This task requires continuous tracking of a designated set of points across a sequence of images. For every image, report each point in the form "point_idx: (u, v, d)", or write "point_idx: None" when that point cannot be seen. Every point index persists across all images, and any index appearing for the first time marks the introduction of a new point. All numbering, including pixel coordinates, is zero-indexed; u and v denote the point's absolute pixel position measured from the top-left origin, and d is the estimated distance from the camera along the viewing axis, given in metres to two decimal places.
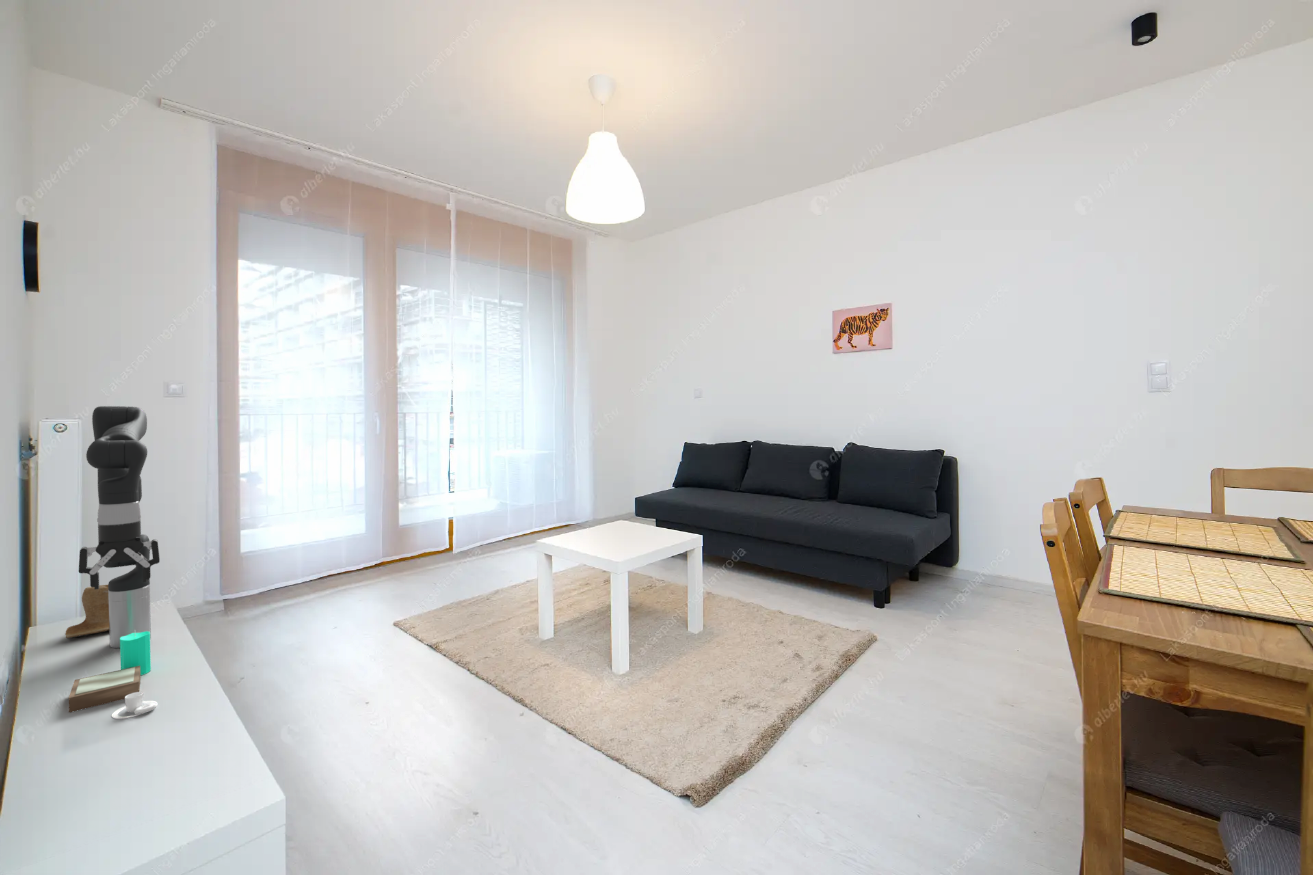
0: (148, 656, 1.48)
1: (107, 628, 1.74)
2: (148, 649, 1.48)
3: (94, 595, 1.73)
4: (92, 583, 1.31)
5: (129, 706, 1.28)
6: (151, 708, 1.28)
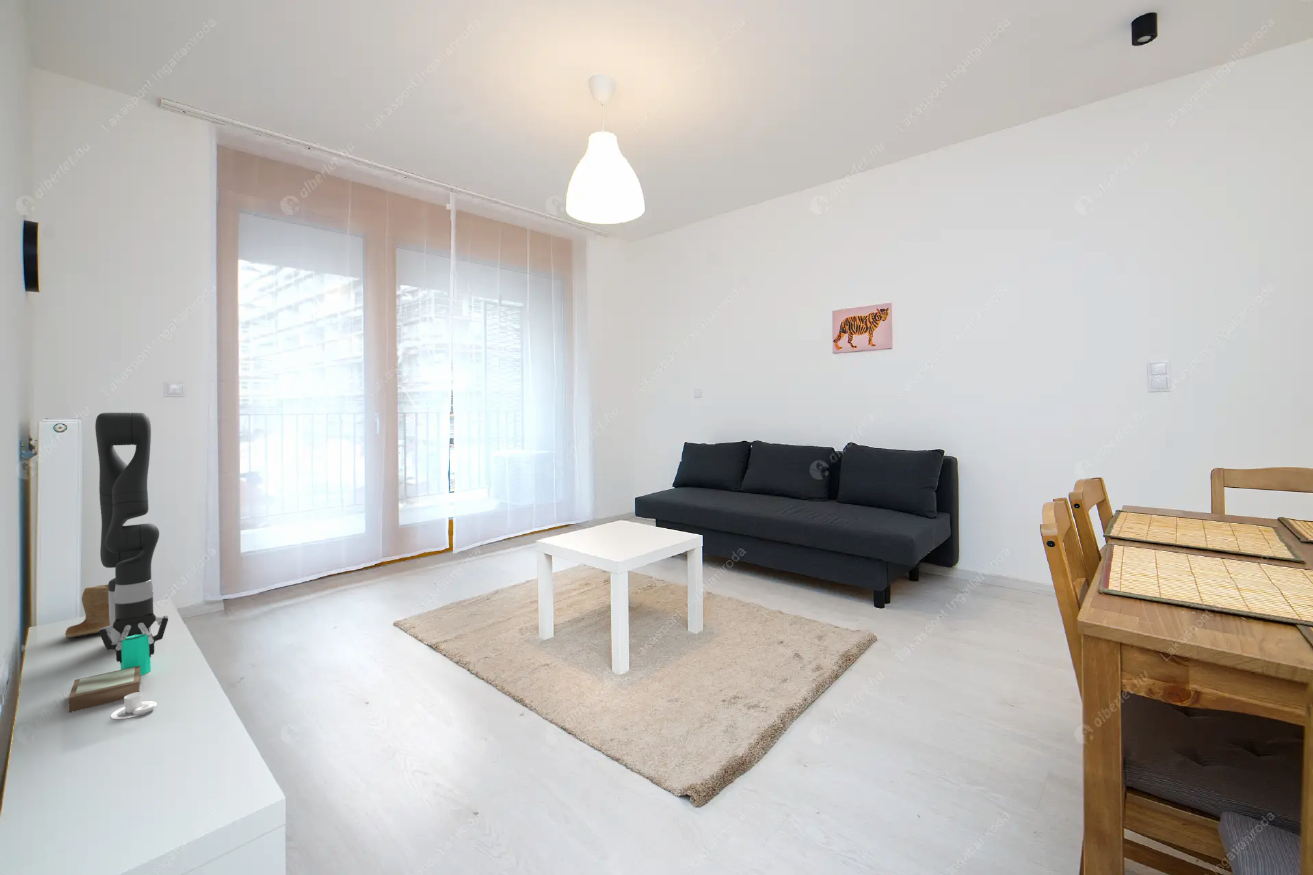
0: (148, 656, 1.48)
1: None
2: (148, 649, 1.48)
3: (94, 595, 1.73)
4: (118, 658, 1.45)
5: (128, 706, 1.28)
6: (150, 708, 1.28)
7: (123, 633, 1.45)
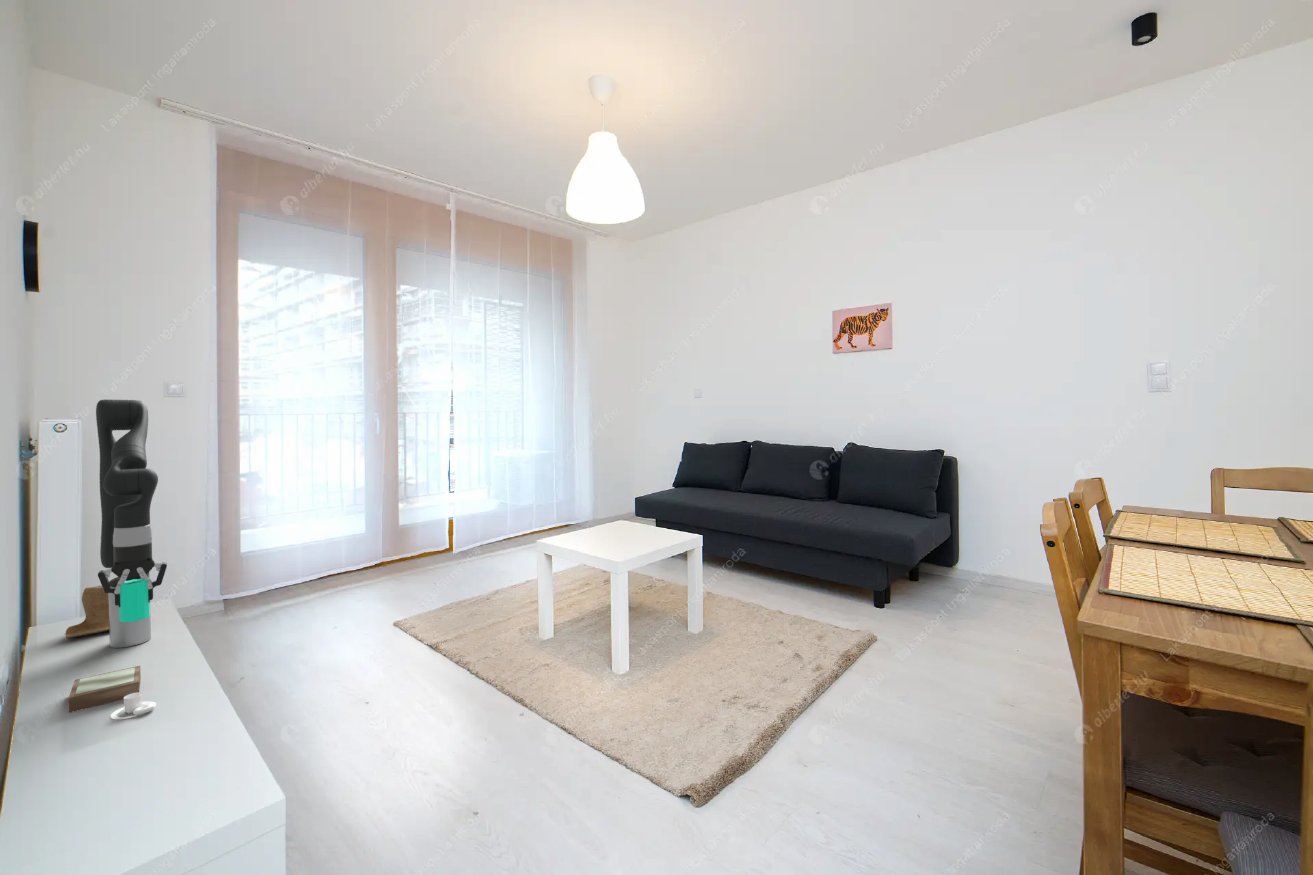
0: (147, 601, 1.48)
1: (107, 628, 1.74)
2: (147, 594, 1.48)
3: (94, 595, 1.73)
4: (116, 602, 1.44)
5: (128, 707, 1.28)
6: (150, 709, 1.28)
7: (122, 577, 1.44)
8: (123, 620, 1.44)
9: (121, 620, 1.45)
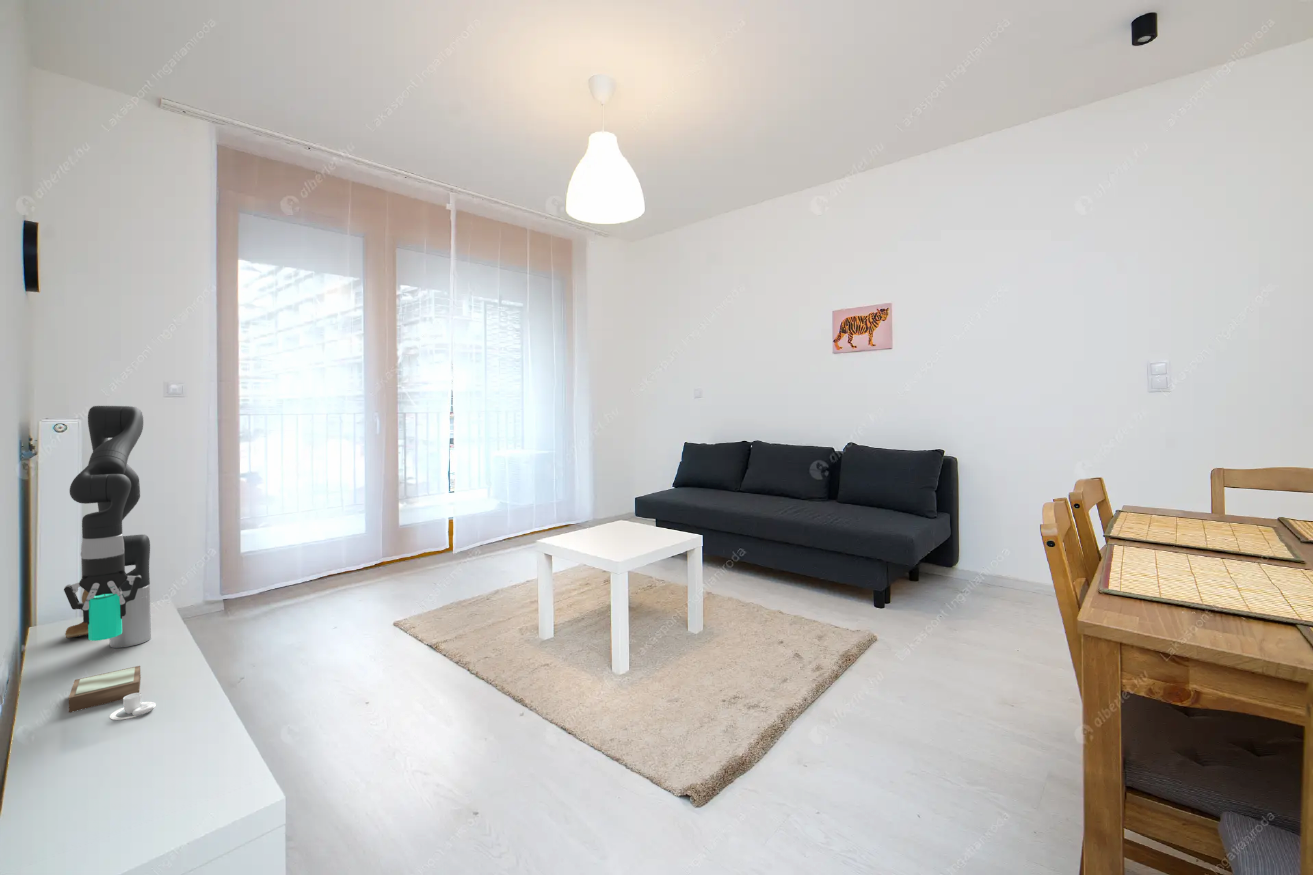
0: (119, 618, 1.36)
1: None
2: (119, 610, 1.36)
3: None
4: (85, 618, 1.33)
5: (127, 707, 1.27)
6: (149, 709, 1.28)
7: (91, 592, 1.33)
8: (92, 638, 1.33)
9: (90, 638, 1.33)
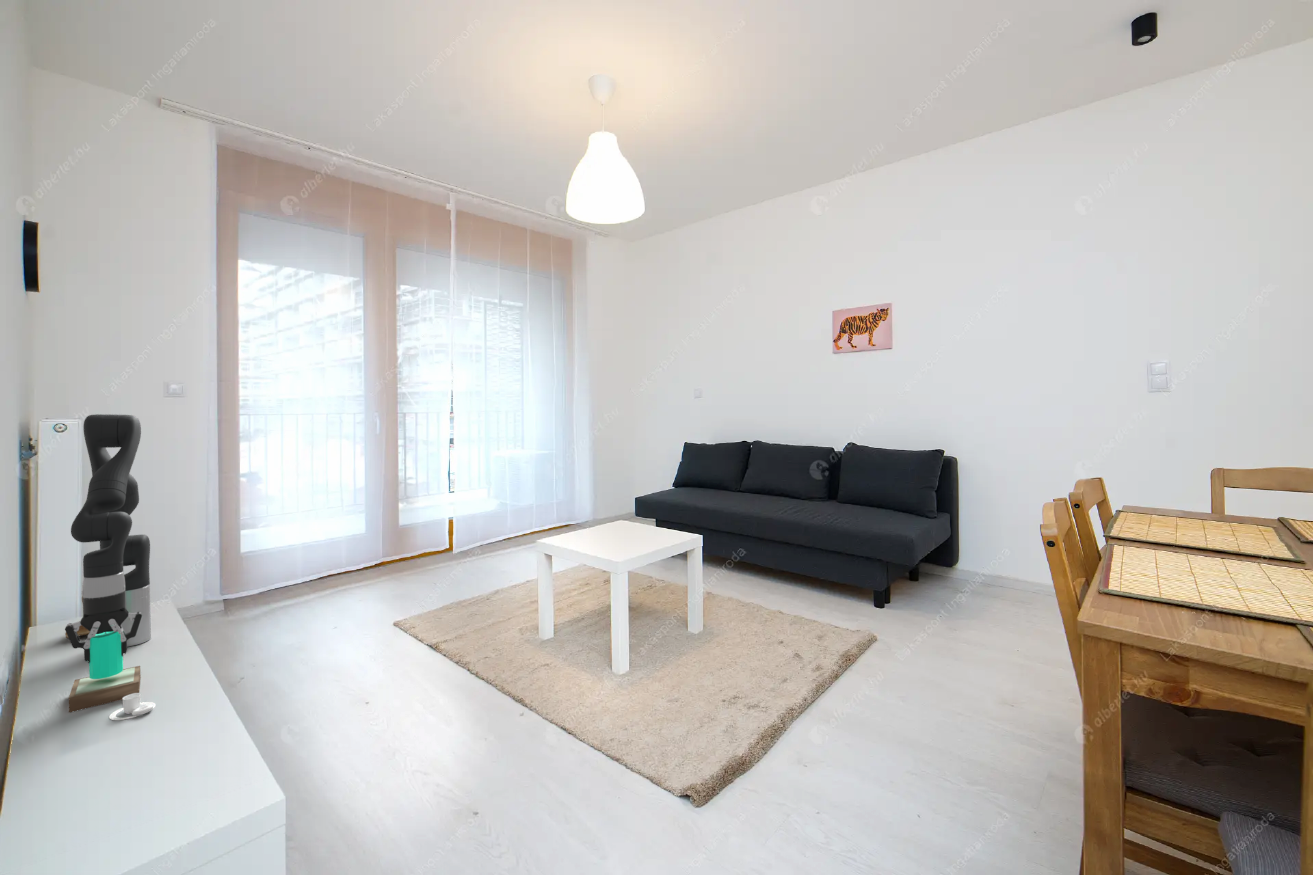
0: (120, 655, 1.37)
1: None
2: (120, 648, 1.37)
3: None
4: (86, 657, 1.33)
5: (127, 707, 1.27)
6: (149, 709, 1.28)
7: (92, 630, 1.33)
8: (93, 677, 1.33)
9: (91, 677, 1.33)
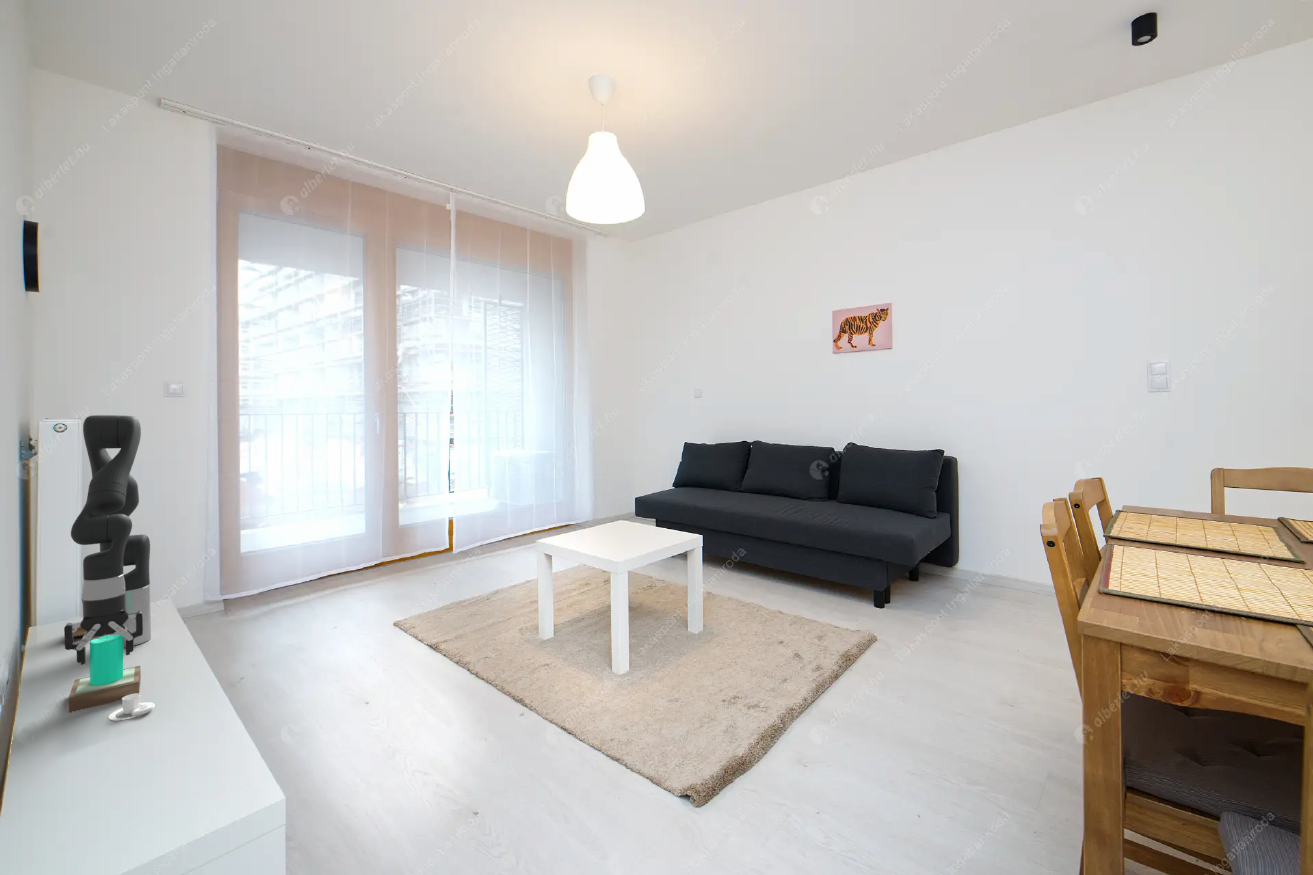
0: (120, 661, 1.37)
1: None
2: (121, 654, 1.37)
3: None
4: (79, 658, 1.32)
5: (126, 708, 1.27)
6: (148, 710, 1.28)
7: (90, 632, 1.33)
8: (94, 683, 1.33)
9: (91, 683, 1.34)
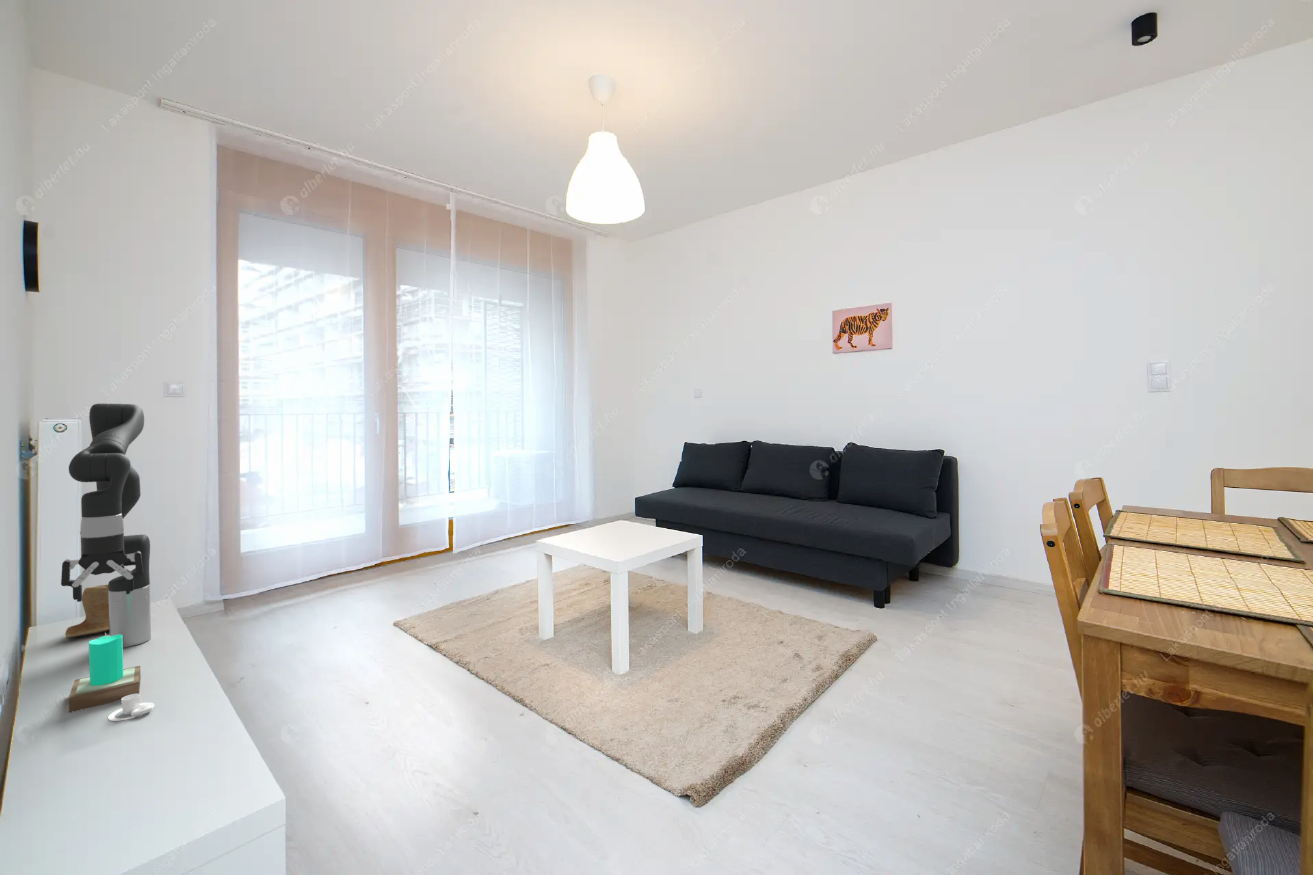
0: (120, 661, 1.37)
1: (107, 628, 1.74)
2: (120, 654, 1.37)
3: (94, 595, 1.73)
4: (75, 596, 1.32)
5: (126, 708, 1.27)
6: (148, 710, 1.27)
7: (87, 569, 1.32)
8: (94, 683, 1.33)
9: (91, 683, 1.34)
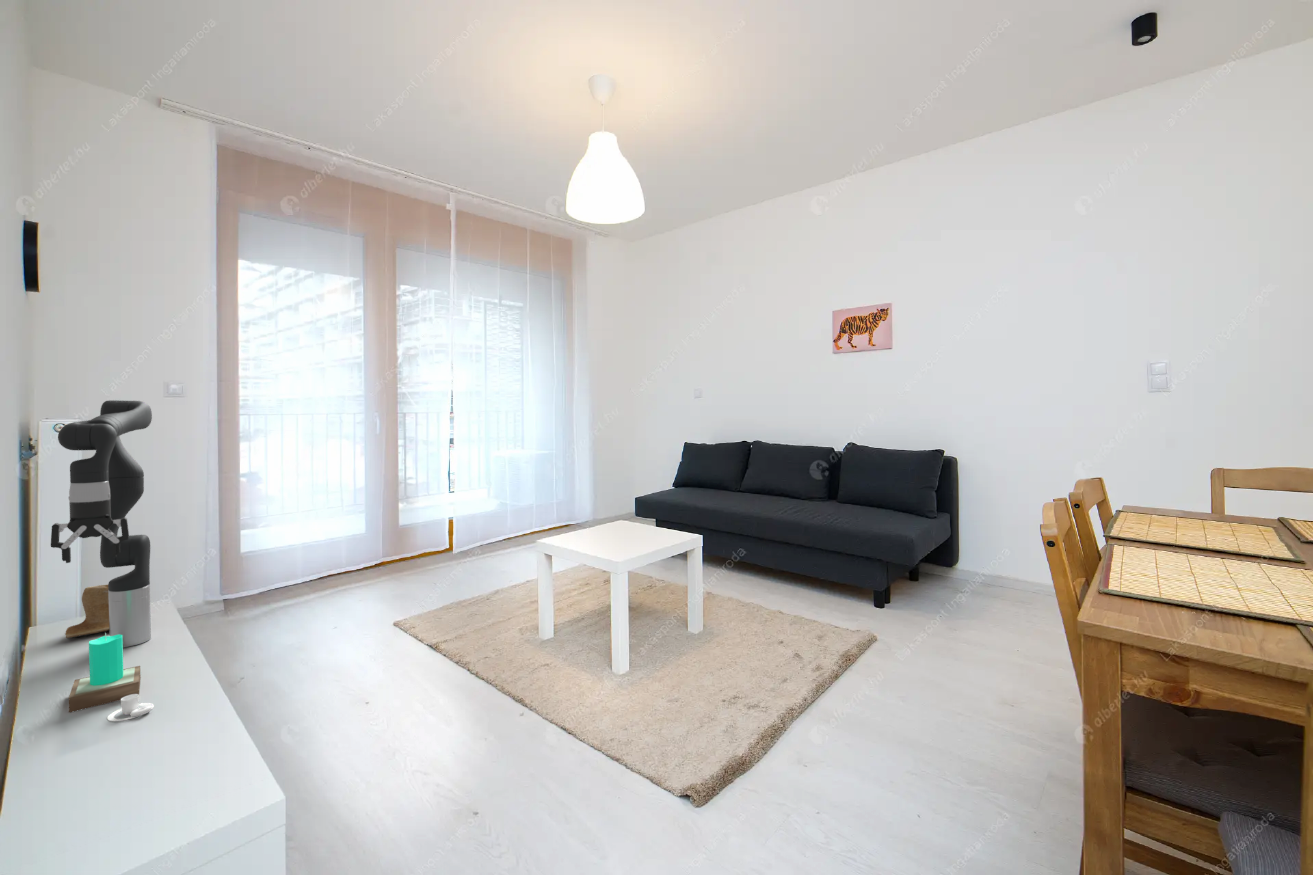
0: (120, 661, 1.37)
1: (107, 628, 1.74)
2: (120, 654, 1.37)
3: (94, 595, 1.73)
4: (64, 557, 1.40)
5: (125, 708, 1.27)
6: (147, 710, 1.27)
7: (76, 532, 1.40)
8: (94, 683, 1.33)
9: (91, 683, 1.34)
